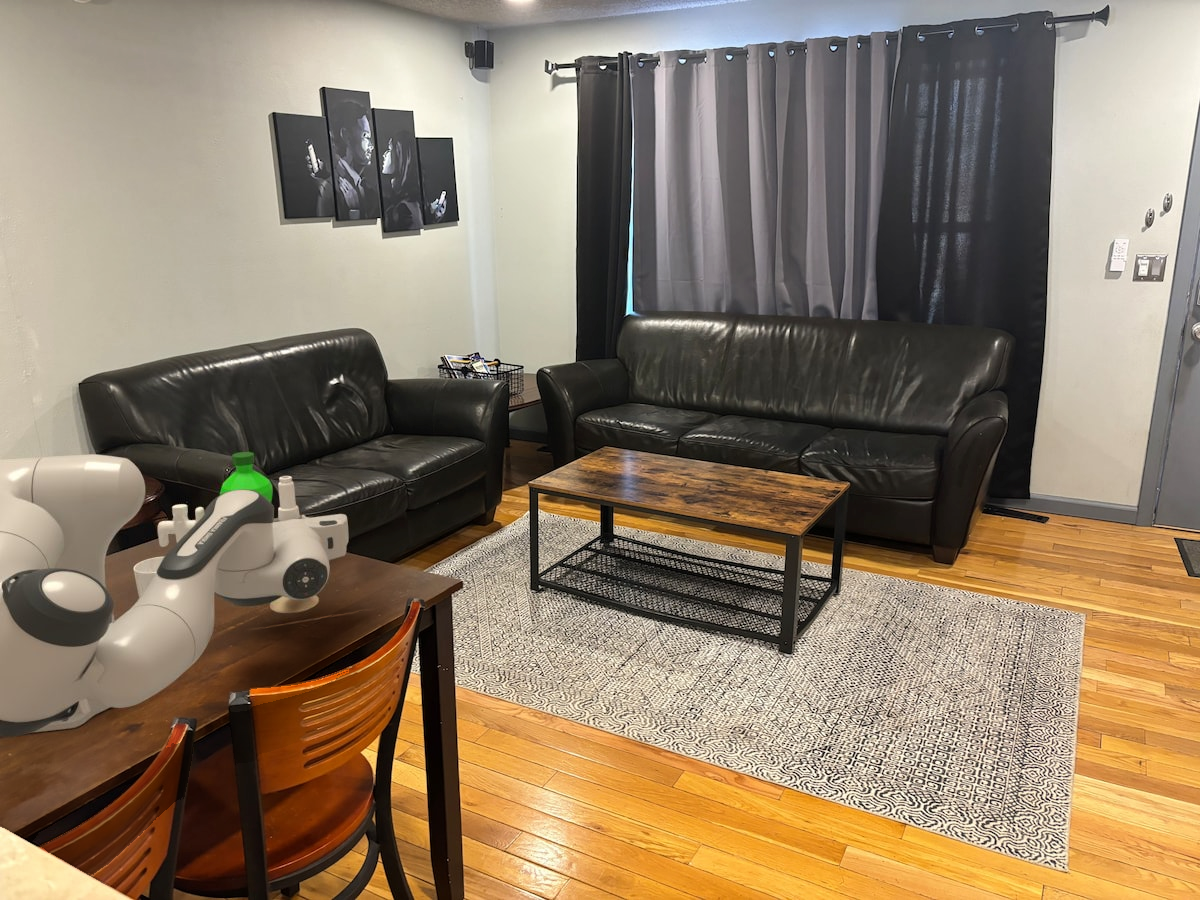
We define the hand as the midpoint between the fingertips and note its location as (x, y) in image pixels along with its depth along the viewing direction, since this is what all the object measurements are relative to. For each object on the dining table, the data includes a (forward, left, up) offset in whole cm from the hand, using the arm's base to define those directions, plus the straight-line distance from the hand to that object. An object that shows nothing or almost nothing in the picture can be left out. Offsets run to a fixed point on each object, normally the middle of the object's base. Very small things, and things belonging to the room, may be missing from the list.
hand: (287, 520), depth 163 cm
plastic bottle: (-6, +22, -17) cm, 29 cm away
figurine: (-19, +24, -17) cm, 35 cm away
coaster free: (0, -1, -17) cm, 17 cm away
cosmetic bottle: (0, -1, -13) cm, 14 cm away
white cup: (-23, +5, -17) cm, 29 cm away
